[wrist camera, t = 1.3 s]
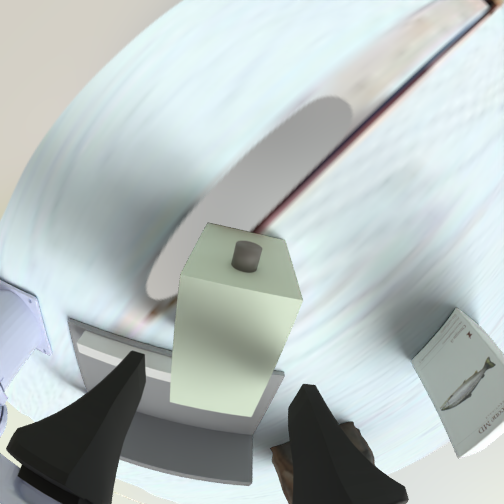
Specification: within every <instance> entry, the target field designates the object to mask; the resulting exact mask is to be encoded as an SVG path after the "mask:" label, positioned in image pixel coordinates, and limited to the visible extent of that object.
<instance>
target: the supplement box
mask: <svg viewBox="0 0 504 504" xmlns="http://www.w3.org/2000/svg"><path fill="white" fill-rule="evenodd" d="M411 363H412V365H413V367H414V369H415V371H416V372H417V374H418V376H419V378H420V380H421V381H422V383H423V385H424V387H425V389H426V391H427V393H428V395H429V397H430V399H431V400H432V402H433V404H434V406H435V409H436V410H437V412H438V414H439V417H440V419H441V421H442V423H443V425H444V428H445V430H446V432H447V434H448V437H449V439H450V441H451V443H452V446H453V448H454V450H455V453H456V455H457V457H458V459H459V458H463V457H466V456H469V455H472V454H474V453H477V452H479V451H482V450H483V449H484V448H486V447H487V446H488V445H489V444H491V443H492V442H493V441H494V440H496V439H497V438H498V437H499V436H500V435H501V434H502V433H504V354H503V352H502V351H501V350H500V349H499V348H498V346H497V345H496V344H495V343H494V341H493V340H492V339H491V338H490V337H489V335H488V334H487V333H486V332H485V331H484V330H483V329H482V328H481V327H480V326H479V325H478V324H477V323H476V322H475V321H473V320H472V319H471V318H470V317H469V316H467V315H466V314H465V313H464V312H462V311H461V310H460V309H458V308H455V310H454V312H453V313H452V314H451V316H450V317H449V319H448V320H447V321H446V322H445V324H444V325H443V326H442V327H441V329H440V330H439V331H438V332H437V333H436V335H435V336H434V337H433V338H432V339H431V340H430V341H429V342H428V344H427V345H426V346H425V347H424V348H423V349H422V350H421V351H420V352H419V353H418V354H417V355H416V356H415V357H414V358H413V359H412V360H411Z"/></svg>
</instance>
